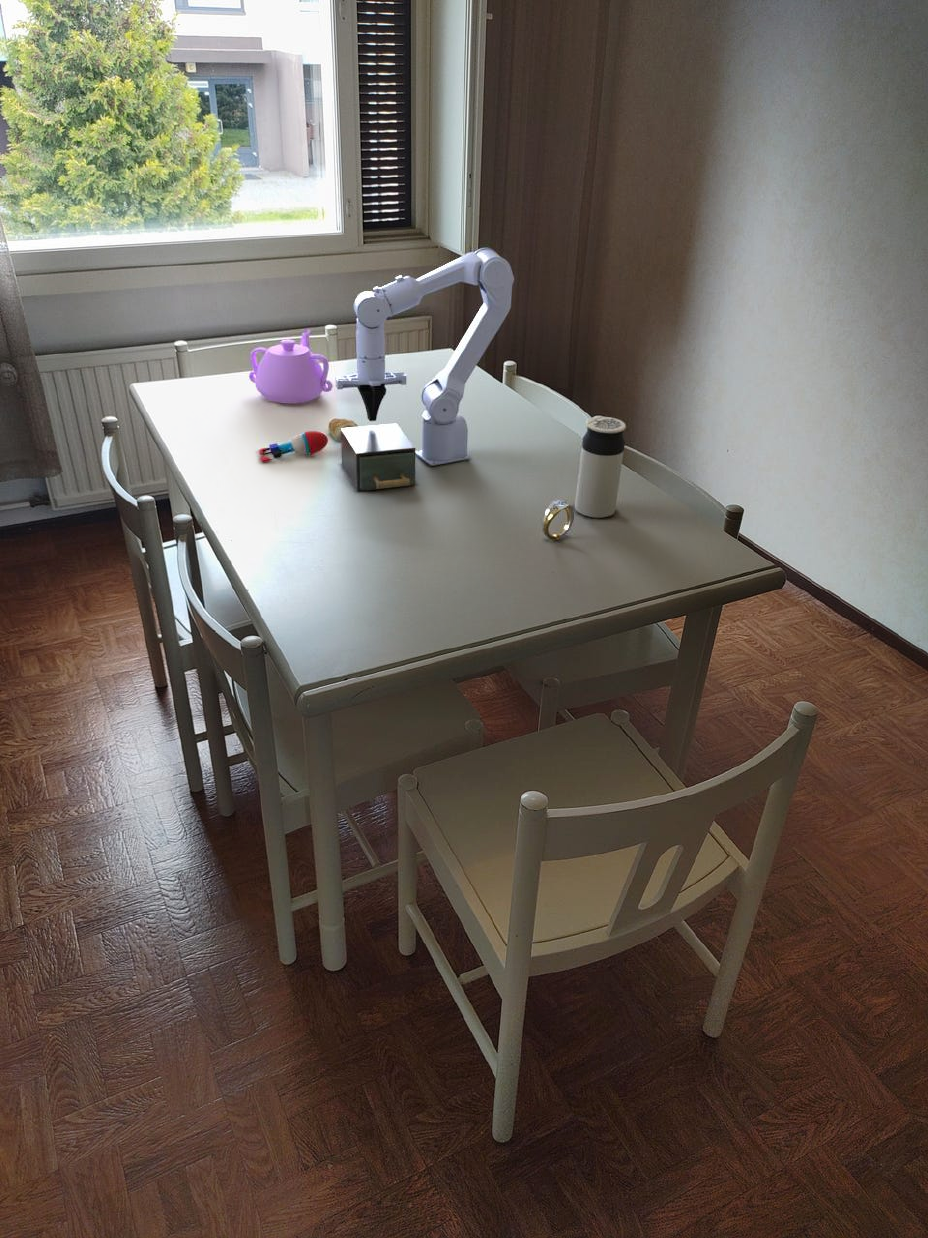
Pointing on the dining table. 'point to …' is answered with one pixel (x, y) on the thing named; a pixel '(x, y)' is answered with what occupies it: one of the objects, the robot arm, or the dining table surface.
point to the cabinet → (371, 446)
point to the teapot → (290, 372)
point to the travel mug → (600, 467)
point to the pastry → (339, 427)
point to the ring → (547, 519)
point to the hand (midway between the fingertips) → (371, 419)
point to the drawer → (386, 470)
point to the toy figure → (297, 445)
